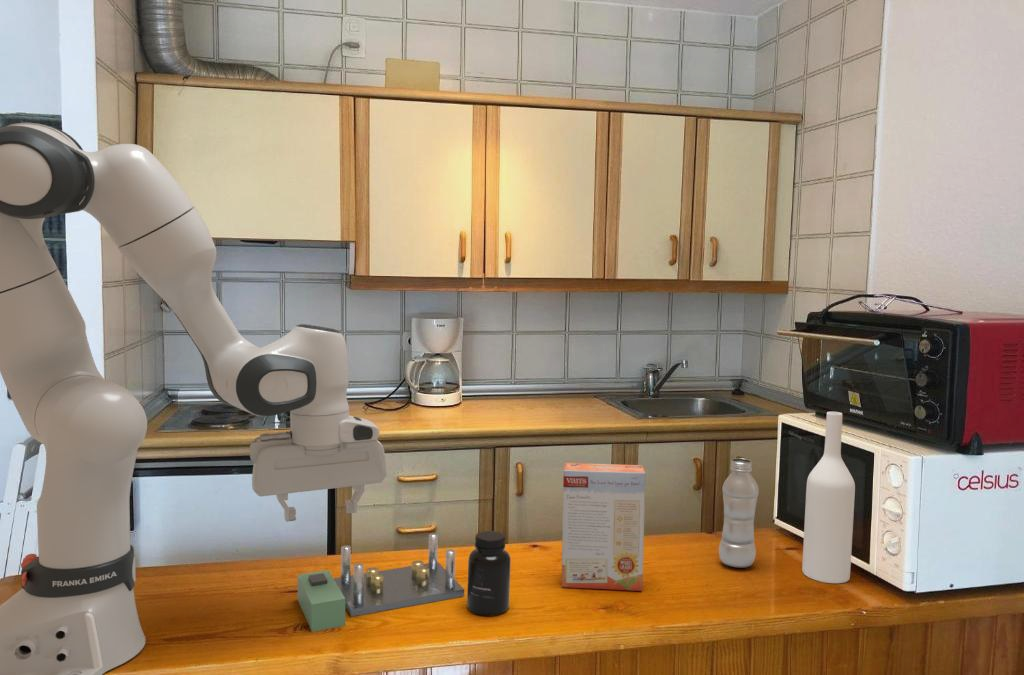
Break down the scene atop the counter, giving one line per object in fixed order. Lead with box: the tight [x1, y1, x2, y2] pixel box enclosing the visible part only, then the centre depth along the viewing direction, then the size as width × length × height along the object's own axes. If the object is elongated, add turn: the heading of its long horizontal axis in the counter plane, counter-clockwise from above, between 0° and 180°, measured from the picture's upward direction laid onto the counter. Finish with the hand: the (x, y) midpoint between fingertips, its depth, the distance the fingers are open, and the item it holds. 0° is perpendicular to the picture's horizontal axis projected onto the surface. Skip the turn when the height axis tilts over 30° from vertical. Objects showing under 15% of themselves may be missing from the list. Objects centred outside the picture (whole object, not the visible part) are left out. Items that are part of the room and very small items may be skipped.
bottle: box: [801, 411, 856, 584], centre depth 136 cm, size 8×8×30 cm
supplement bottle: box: [466, 530, 512, 616], centre depth 121 cm, size 7×7×12 cm
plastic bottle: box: [718, 457, 760, 569], centre depth 140 cm, size 6×7×20 cm
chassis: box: [333, 532, 465, 617], centre depth 127 cm, size 19×13×7 cm
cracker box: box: [561, 462, 646, 592], centre depth 131 cm, size 14×6×21 cm, turn 84°
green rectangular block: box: [297, 569, 346, 633], centre depth 119 cm, size 12×5×5 cm, turn 26°
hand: (321, 516), depth 118 cm, fingers open, 8 cm apart
